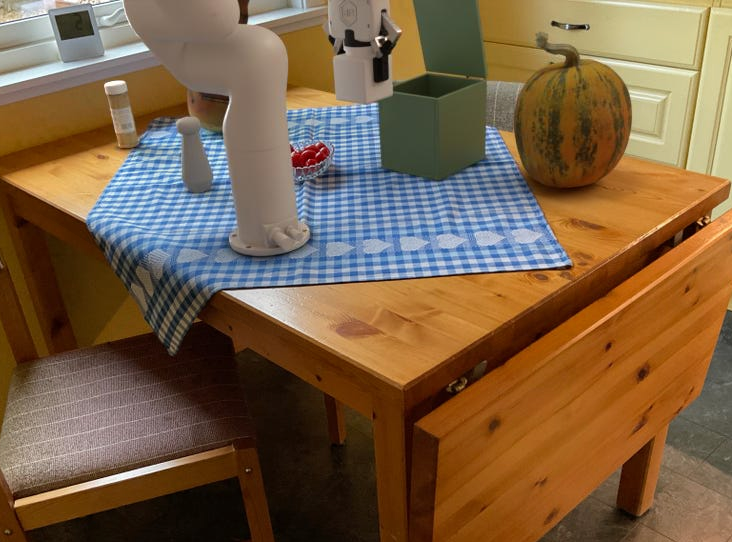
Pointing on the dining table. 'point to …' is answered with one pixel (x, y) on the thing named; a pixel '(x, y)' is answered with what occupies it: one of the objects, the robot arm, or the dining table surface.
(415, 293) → the dining table surface
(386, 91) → the medicine bottle
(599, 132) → the pumpkin
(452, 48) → the lid
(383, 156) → the chest
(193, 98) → the ceramic pitcher
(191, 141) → the salt shaker
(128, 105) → the sprinkles bottle
